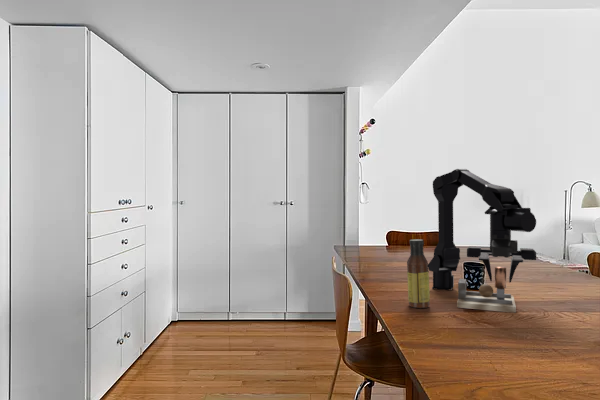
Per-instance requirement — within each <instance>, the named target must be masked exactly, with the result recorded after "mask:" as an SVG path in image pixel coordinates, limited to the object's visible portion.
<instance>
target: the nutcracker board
mask: <svg viewBox="0 0 600 400" xmlns="http://www.w3.org/2000/svg"><path fill="white" fill-rule="evenodd" d="M457 282H458V283H457V285H458V286H457V301H456V308H459V309H470V310H471V309H473V310H481V311H492V312H494V311H495V312H503V313H514V314H515V313H517V307H516V302H515V296H514V295H512V294H511V293H504V300H500V299H497V292H493V294H492V296H490V297H483V296H482V295H481V294H480V293H479V291H473V290H467V279H466V278H459V279H458V281H457Z"/></svg>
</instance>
